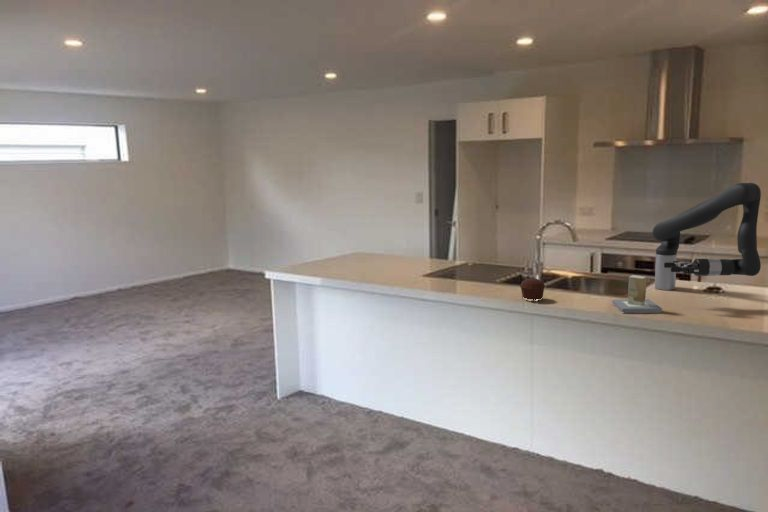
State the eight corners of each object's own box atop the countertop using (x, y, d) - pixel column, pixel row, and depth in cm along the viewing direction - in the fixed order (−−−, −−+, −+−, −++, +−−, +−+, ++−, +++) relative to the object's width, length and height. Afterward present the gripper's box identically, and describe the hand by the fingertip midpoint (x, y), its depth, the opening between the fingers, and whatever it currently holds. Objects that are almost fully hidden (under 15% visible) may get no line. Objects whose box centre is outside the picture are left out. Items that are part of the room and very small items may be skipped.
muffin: (547, 298, 279) (548, 277, 277) (541, 303, 269) (541, 282, 268) (523, 296, 285) (523, 276, 283) (516, 301, 276) (516, 280, 274)
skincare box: (627, 303, 255) (627, 276, 253) (631, 301, 258) (632, 274, 256) (642, 306, 250) (643, 278, 248) (646, 304, 253) (647, 276, 251)
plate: (612, 303, 263) (612, 299, 263) (649, 303, 261) (649, 299, 261) (622, 313, 248) (622, 308, 247) (661, 312, 246) (661, 308, 245)
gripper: (701, 255, 257) (662, 255, 259) (714, 262, 243) (674, 262, 245) (699, 272, 259) (661, 271, 261) (713, 279, 245) (672, 279, 247)
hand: (667, 267), depth 253 cm, fingers open, 8 cm apart
